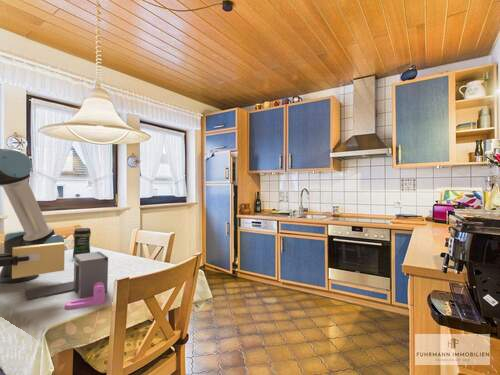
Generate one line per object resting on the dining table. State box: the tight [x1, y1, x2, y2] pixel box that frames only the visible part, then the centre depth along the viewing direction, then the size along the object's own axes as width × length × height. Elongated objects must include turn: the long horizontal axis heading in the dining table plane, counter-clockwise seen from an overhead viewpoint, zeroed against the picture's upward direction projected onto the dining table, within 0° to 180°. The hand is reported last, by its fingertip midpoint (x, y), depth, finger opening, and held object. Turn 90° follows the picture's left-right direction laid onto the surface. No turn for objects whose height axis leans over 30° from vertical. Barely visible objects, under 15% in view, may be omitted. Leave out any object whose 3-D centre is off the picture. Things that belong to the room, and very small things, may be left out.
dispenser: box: [73, 251, 109, 299], centre depth 117 cm, size 14×11×15 cm
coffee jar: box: [72, 227, 92, 258], centre depth 175 cm, size 10×8×19 cm
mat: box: [24, 280, 76, 301], centre depth 117 cm, size 12×18×1 cm, turn 133°
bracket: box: [64, 282, 106, 310], centre depth 104 cm, size 13×6×7 cm, turn 121°
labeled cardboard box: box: [12, 242, 66, 279], centre depth 106 cm, size 4×16×11 cm, turn 133°
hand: (38, 255), depth 106 cm, fingers closed on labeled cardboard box, 4 cm apart
